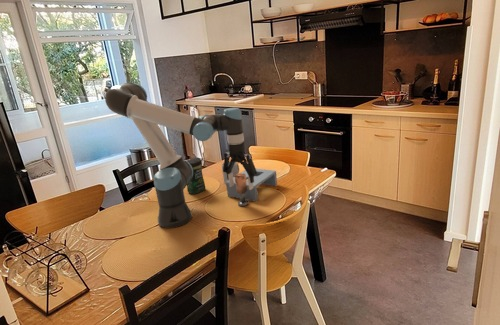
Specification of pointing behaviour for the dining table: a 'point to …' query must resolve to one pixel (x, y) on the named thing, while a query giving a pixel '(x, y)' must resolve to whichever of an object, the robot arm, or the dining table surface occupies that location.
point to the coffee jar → (196, 177)
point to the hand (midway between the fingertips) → (241, 187)
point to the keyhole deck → (254, 184)
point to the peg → (241, 188)
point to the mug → (234, 170)
